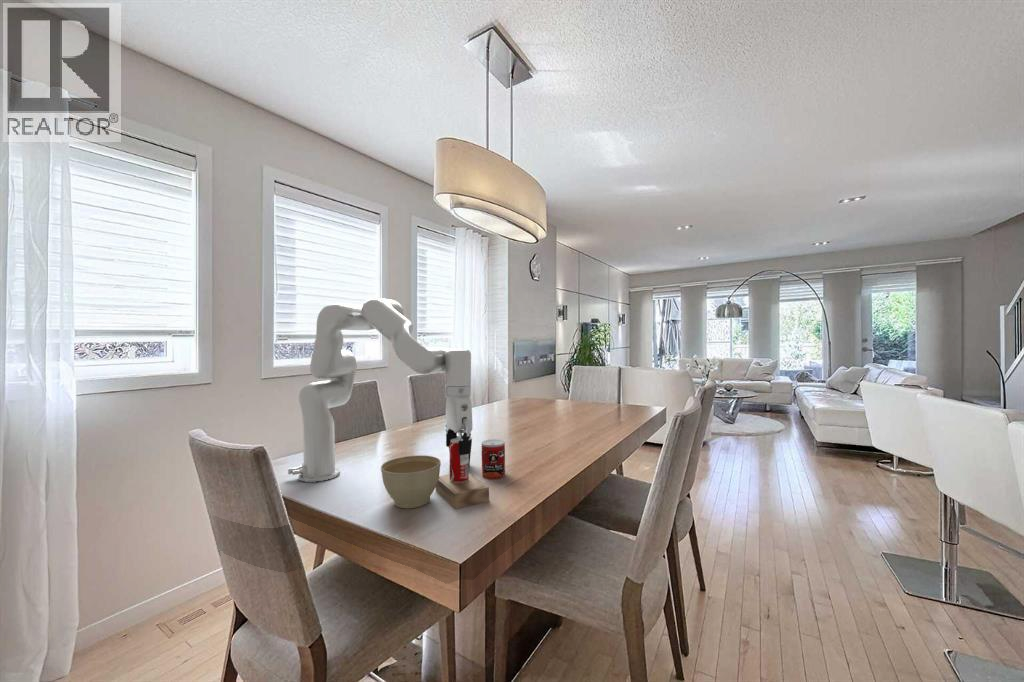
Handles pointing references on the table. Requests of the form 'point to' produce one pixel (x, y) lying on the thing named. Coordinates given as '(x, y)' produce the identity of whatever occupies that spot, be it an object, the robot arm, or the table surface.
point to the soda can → (458, 463)
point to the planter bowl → (411, 479)
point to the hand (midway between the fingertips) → (457, 450)
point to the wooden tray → (462, 491)
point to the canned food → (493, 458)
